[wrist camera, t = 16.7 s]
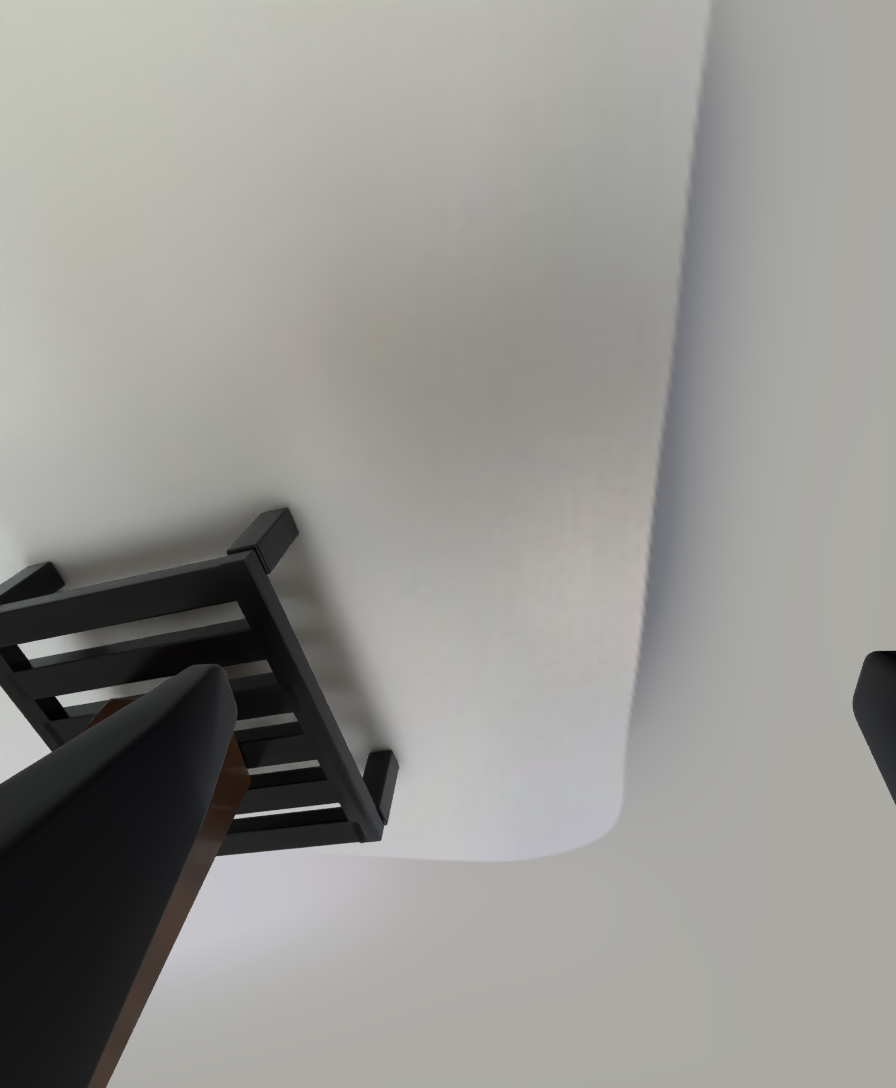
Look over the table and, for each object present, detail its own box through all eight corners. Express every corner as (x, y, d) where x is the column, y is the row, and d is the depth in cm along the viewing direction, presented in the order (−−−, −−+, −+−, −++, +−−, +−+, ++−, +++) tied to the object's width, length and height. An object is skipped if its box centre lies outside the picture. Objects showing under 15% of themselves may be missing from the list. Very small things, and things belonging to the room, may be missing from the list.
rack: (399, 767, 28) (384, 842, 24) (181, 794, 30) (139, 867, 27) (288, 506, 22) (246, 556, 18) (27, 566, 24) (-55, 620, 21)
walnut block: (222, 696, 21) (18, 1018, 12) (252, 781, 23) (96, 1109, 14) (110, 697, 22) (-161, 1006, 13) (149, 780, 24) (-62, 1096, 15)
